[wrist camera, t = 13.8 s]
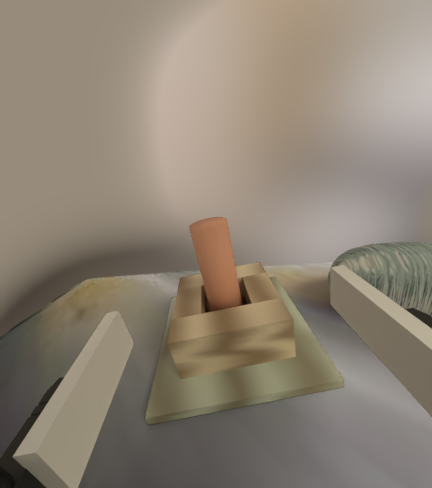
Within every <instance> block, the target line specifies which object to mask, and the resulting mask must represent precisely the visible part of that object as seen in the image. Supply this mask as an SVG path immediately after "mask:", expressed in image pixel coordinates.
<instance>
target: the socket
mask: <svg viewBox="0 0 432 488" xmlns="http://www.w3.org/2000/svg"><path fill="white" fill-rule="evenodd" d="M236 272H237V278H238V283H239V289H240V294H241V300H242V305H243V306H238V307H233V308H228V309H223V310H218V311H213V312H211V310H210V306H209V302H208V299H207V295H206V291H205V287H204V283H203V279H202V275H201V274H197V275H192V276H187V277H182V278H180V282H179V287H178V292H177V296H176V297H172V300H171V305H170V309H169V314H168V318H167V323H166V327H165V331H164V336H163V340H162V345H161V349H160V354H159V358H158V362H157V367H156V371H155V376H154V380H153V384H152V389H151V393H150V398H149V402H148V407H147V411H146V415H145V420H146V422H147V424H148V425H152V424H157V423H162V422H167V421H172V420H177V419H182V418H188V417H193V416H198V415H203V414H208V413H213V412H218V411H223V410H229V409H234V408H239V407H244V406H249V405H254V404H259V403H264V402H270V401H275V400H280V399H285V398H290V397H295V396H300V395H306V394H311V393H316V392H321V391H326V390H331V389H336V388H341V387H343V384H344V379H343V378H342V376H341V375H340V373H339V372H338V370H337V369H336V367H335V366H334V364H333V363H332V361H331V360H330V358H329V357H328V355H327V354H326V352H325V351H324V349H323V348H322V346H321V344H320V343H319V341H318V340H317V338H316V337H315V335H314V334H313V332H312V331H311V329H310V328H309V326H308V325H307V323H306V322H305V320H304V319H303V317H302V316H301V314H300V313H299V311H298V310H297V308H296V307H295V305H294V304H293V302H292V301H291V299H290V298H289V296H288V295H287V293H286V291H285V290H284V288H283V287H282V285H281V284H280V282H279V281H278V279H277V278H276V276H275V277H270V278H269V277H268V275H267V273H266V272H265V270H264V268H263V267H262V265H261V263H260V262H257V263H252V264H247V265H242V266H237V267H236Z"/></svg>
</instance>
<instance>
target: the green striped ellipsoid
mask: <svg viewBox="0 0 432 488" xmlns="http://www.w3.org/2000/svg"><path fill="white" fill-rule="evenodd" d="M340 265H344V266H345V267H347V268H348V269H350V270H351V271H352V272H354V273H355V274H357V275H358V276H359V277H361V278H362V279H363V280H365V281H366V282H368V283H369V284H370V285H372V286H373V287H375V288H376V289H377V290H379V291H380V292H382V293H383V294H384V295H386V296H387V297H388V298H390V299H391V300H393V301H394V302H395V303H397V304H398V305H400V306H401V307H402V308H404V309H409V308H414V309H417V310H419V311H421V312H424V313H426V314H428V315H430V316H431V317H432V244H430V243H409V242H405V243H403V242H398V243H381V244H371V245H365V246H361V247H357V248H353V249H350V250H348V251H346V252H345V253H343V254H341V255H340V256H339V257H338V258H337V259H336V260H335V261H334V263H333V264H332V266H331V267H335V266H340ZM330 279H331V269H330V272H329V276H328V287H329V290H330Z"/></svg>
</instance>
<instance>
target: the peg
mask: <svg viewBox="0 0 432 488" xmlns="http://www.w3.org/2000/svg"><path fill="white" fill-rule="evenodd" d="M189 229H190V233H191V236H192V240H193V244H194V248H195V252H196V256H197V260H198V264H199V267H200V271H201V275H202V279H203V283H204V287H205V291H206V295H207V299H208V302H209V306H210V310H211V312H213V311H218V310H223V309H228V308H233V307H238V306H243V305H242V300H241V294H240V289H239V283H238V278H237V272H236V267H235V262H234V256H233V250H232V245H231V239H230V234H229V228H228V223H227V219H226V218H223V217H214V218H207V219H204V220H200V221H197V222H195V223H193V224H192V225H190V227H189Z"/></svg>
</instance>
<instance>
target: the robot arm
mask: <svg viewBox="0 0 432 488" xmlns="http://www.w3.org/2000/svg"><path fill="white" fill-rule="evenodd" d="M330 305H331V306H332V307H333V308H334V309H335V310H336V311H337V312H338V313H339V315H340V316H341V317H342V318H343V319H344V320H345V321H346V322H347V323H348V325H349V326H350V327H351V328H352V329H353V330H354V331H355V332H356V333H357V334H358V336H359V337H360V338H361V339H362V340H363V341H364V342H365V343H366V344H367V346H368V347H369V348H370V349H371V350H372V351H373V352H374V353H375V354H376V355H377V357H378V358H379V359H380V360H381V361H382V362H383V363H384V364H385V365H386V367H387V368H388V369H389V370H390V371H391V372H392V373H393V374H394V375H395V377H396V378H397V379H398V380H399V381H400V382H401V383H402V384H403V385H404V386H405V388H406V389H407V390H408V391H409V392H410V393H411V394H412V395H413V396H414V398H415V399H416V400H417V401H418V402H419V403H420V404H421V405H422V406H423V407H424V409H425V410H426V411H427V412H428V413H429V414H430V415H431V416H432V317H431V316H430V315H428V314H426V313H424V312H421V311H419V310H417V309H414V308H409V309H404V308H402V307H401V306H400V305H398V304H397V303H395V302H394V301H393V300H391V299H390V298H388V297H387V296H386V295H384V294H383V293H382V292H380V291H379V290H377V289H376V288H375V287H373V286H372V285H370V284H369V283H368V282H366V281H365V280H363V279H362V278H361V277H359V276H358V275H357V274H355V273H354V272H352V271H351V270H350V269H348V268H347V267H345V266H344V265H340V266H335V267H331V279H330ZM133 345H134V342H133V340H132V338H131V336H130V334H129V332H128V330H127V328H126V325H125V323H124V321H123V319H122V317H121V315H120V313H119V311H114V312H109V313H106V314H105V316H104V318H103V319H102V321H101V322H100V324H99V325H98V327H97V328H96V330H95V331H94V333H93V334H92V336H91V337H90V339H89V340H88V342H87V344H86V345H85V347H84V348H83V350H82V351H81V353H80V354H79V356H78V357H77V359H76V360H75V362H74V363H73V365H72V367H71V368H70V370H69V371H68V373H67V374H66V376H65V377H63V378H59V379H58V380H57V381H56V382H55V383H54V384H53V385H52V386H51V387H50V388H49V389H48V390H47V392H46V393H45V395H44V396H43V398H42V399H41V401H40V402H39V405H38V406H36V408H35V409H34V411H33V412H32V414H31V417H29V418H28V419H27V421H26V422H25V424H24V425H23V427H22V428H21V430H20V431H19V432H18V434H17V435H16V437H15V438H14V440H13V441H12V443H11V444H10V446H9V447H8V448H7V450H6V451H5V453H4V454H3V456H2V457H1V459H0V488H78V486H79V484H80V481H81V479H82V476H83V473H84V471H85V468H86V466H87V463H88V461H89V458H90V455H91V453H92V450H93V448H94V445H95V443H96V440H97V437H98V435H99V432H100V430H101V427H102V424H103V422H104V419H105V417H106V414H107V412H108V409H109V406H110V404H111V401H112V399H113V396H114V394H115V391H116V388H117V386H118V383H119V381H120V378H121V376H122V373H123V370H124V368H125V365H126V363H127V360H128V358H129V355H130V352H131V350H132V347H133Z"/></svg>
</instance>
